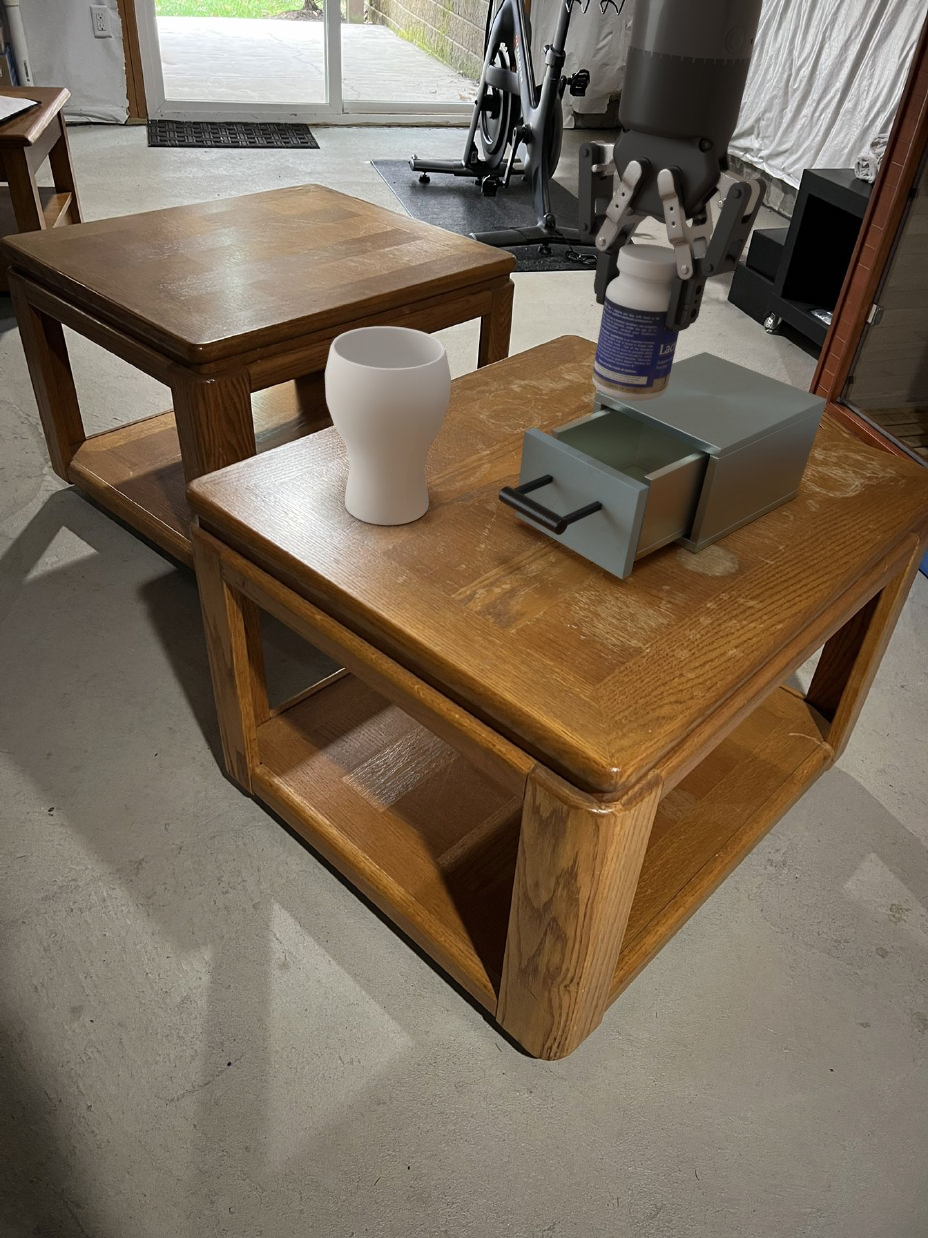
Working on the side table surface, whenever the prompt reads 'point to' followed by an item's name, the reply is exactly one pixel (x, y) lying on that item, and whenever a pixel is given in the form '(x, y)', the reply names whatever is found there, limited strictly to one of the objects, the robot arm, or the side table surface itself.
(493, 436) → the side table surface
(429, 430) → the cup
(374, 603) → the side table surface
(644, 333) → the pill bottle
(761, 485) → the drawer cabinet
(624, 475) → the drawer
